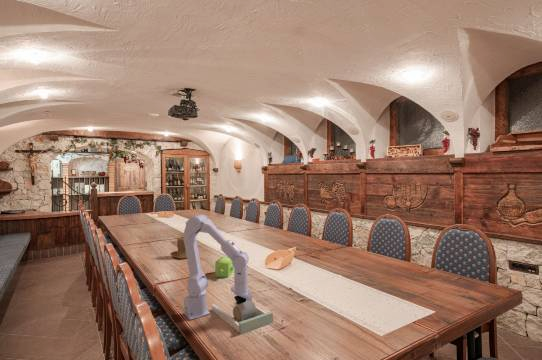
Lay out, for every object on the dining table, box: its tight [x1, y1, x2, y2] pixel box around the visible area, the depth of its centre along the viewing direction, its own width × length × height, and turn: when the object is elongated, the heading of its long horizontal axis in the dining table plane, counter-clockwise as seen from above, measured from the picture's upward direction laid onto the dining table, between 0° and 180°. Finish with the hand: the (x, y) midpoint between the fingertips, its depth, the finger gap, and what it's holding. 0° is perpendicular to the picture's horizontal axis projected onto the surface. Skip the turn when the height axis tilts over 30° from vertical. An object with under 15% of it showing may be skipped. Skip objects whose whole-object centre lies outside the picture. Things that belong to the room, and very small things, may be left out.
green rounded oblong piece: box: [214, 256, 234, 278], centre depth 191 cm, size 18×10×10 cm, turn 167°
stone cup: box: [170, 236, 187, 259], centre depth 234 cm, size 15×12×15 cm
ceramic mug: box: [232, 300, 258, 323], centre depth 130 cm, size 11×8×8 cm
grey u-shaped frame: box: [211, 300, 274, 335], centre depth 136 cm, size 15×27×4 cm, turn 36°
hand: (241, 312), depth 136 cm, fingers closed, pressing on ceramic mug
